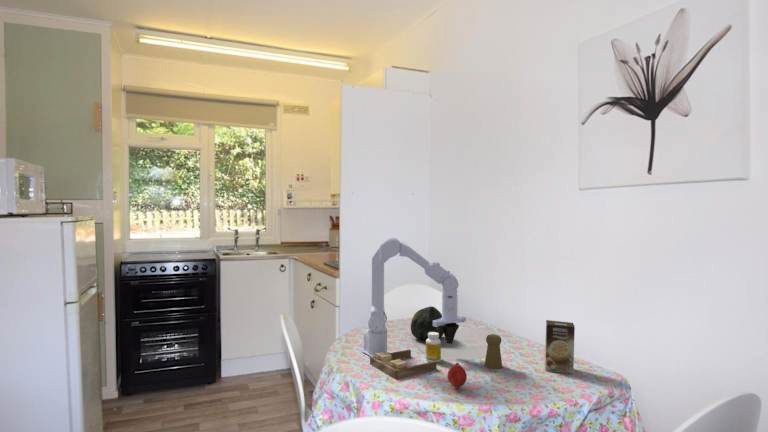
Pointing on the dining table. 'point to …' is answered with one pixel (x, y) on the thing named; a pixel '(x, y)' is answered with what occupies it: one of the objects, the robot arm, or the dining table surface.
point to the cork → (493, 352)
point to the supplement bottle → (433, 347)
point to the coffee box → (559, 346)
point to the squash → (425, 323)
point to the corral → (402, 371)
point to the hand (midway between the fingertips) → (449, 343)
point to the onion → (457, 376)
